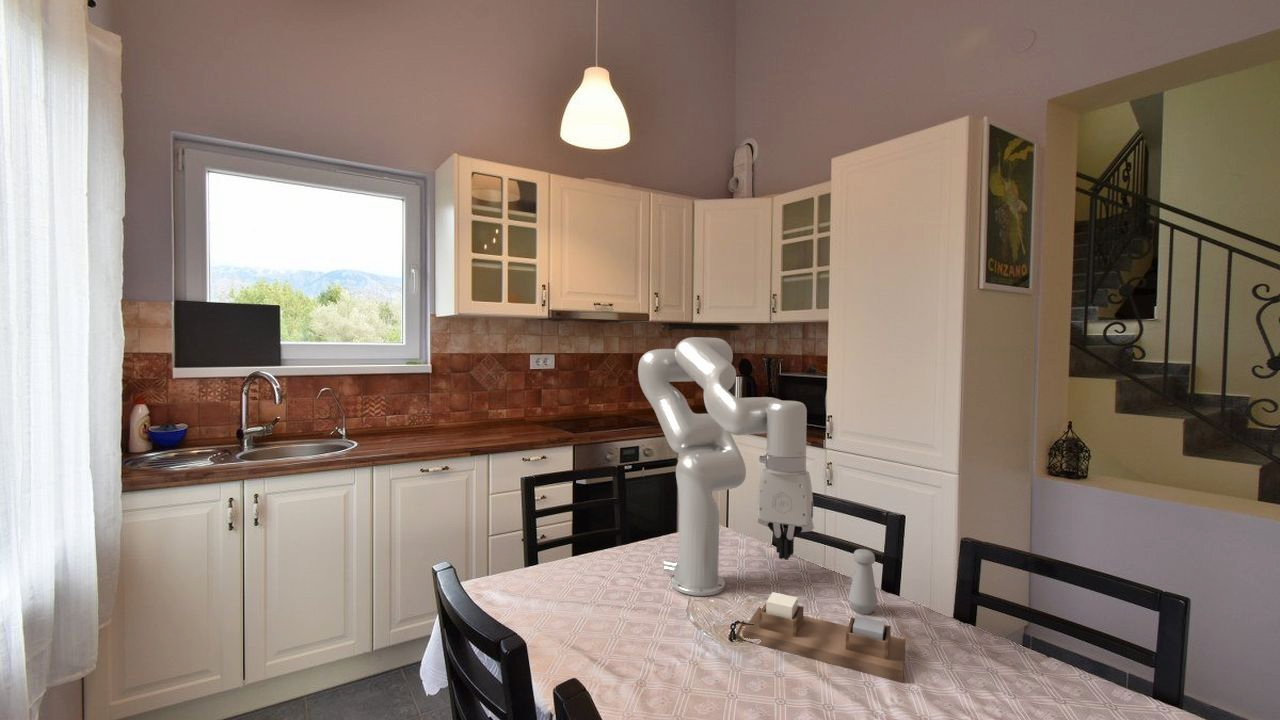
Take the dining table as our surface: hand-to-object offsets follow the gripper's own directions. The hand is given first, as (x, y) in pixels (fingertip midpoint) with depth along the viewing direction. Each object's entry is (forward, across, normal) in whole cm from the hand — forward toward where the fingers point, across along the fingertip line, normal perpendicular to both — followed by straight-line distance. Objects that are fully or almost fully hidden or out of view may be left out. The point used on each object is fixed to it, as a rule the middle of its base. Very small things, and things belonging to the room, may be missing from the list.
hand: (784, 557), depth 111 cm
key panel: (+16, +7, 0) cm, 17 cm away
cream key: (+11, -1, 0) cm, 11 cm away
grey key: (+12, +15, 0) cm, 20 cm away
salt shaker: (+16, +12, +20) cm, 28 cm away
